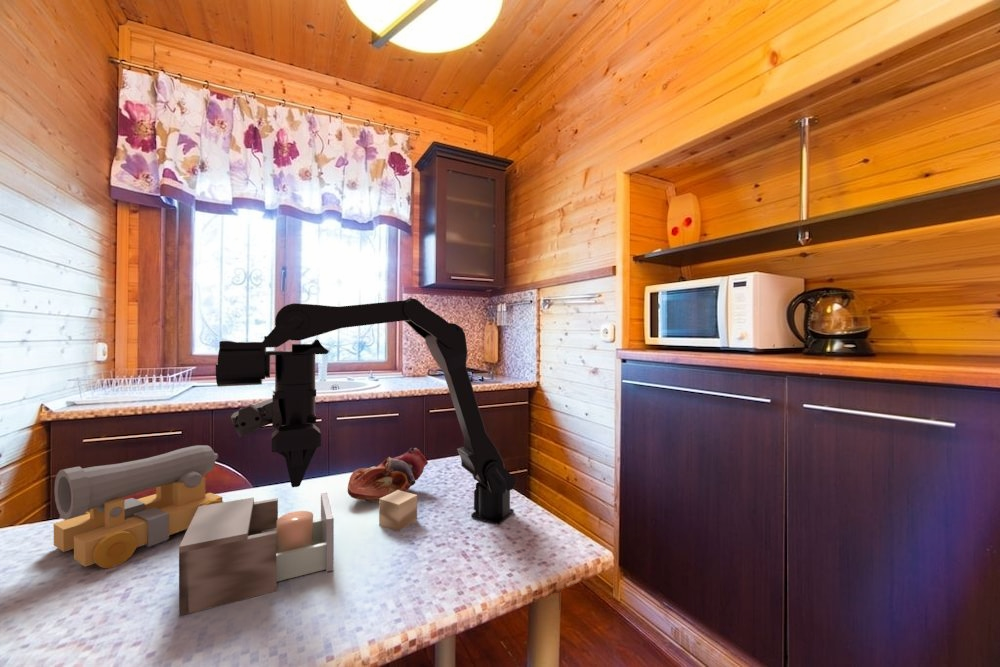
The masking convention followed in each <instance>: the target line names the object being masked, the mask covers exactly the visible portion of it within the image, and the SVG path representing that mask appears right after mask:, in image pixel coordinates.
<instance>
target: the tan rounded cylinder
mask: <svg viewBox="0 0 1000 667" xmlns="http://www.w3.org/2000/svg"><path fill="white" fill-rule="evenodd" d="M313 521H314V514H313V512H312V511H307V510H296V511H292V512H291V511H290V512H288V513H285V514H283V515H281V516H280V517H278V520H277V553H280V552H285V551H289V550H294V549H298V548H303V547H307V546H312V545H313Z"/></svg>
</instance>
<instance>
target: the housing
mask: <svg viewBox="0 0 1000 667" xmlns="http://www.w3.org/2000/svg"><path fill="white" fill-rule="evenodd" d="M278 498H279V497H275V498H270V499H264V500H259V501H255V497H248V498H243V499H237V500H236V499H235V500H229V501H225V502H224V501H223V503H217V504H210V505H204V506H199V507H198V509H197V511H196V513H195V515H194V517H193V519H192V521H191V523H190V525H189V527H188V528H187V529H186V531H185V533H184V536H183V538H182V540H181V541H180V543H179V546H178V616H179V617H181V616H185V615H189V614H192V613H197V612H200V611H204V610H207V609H208V610H209V609H212V608H216V607H220V606H224V605H227V604H230V603H234V602H235V603H236V602H239V601H243V600H247V599H250V598H253V597H258V596H262V595H265V594H270V593H273V592H277V582H276V530H275V531H270V532H265V533H261V531H263V530H268V529H273V528H277V520H278V518H279V517H278V516H279V511H278V510H279V501H278V500H279V499H278Z"/></svg>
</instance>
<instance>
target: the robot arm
mask: <svg viewBox="0 0 1000 667" xmlns="http://www.w3.org/2000/svg"><path fill="white" fill-rule="evenodd" d="M274 319H275V321H274V325H275V327H273V329H272V330H271V331H270V333H269V334H268V335H264V336H263V340H262V341H235V340H220V341H219V349H218V352H217V353H218V355H217V363H215V380H216V381H215V382H216V385H217V387H218V388H219V387H235V386H236V387H237V386H238V387H239V386H256V385H260V386H261V385H262V384H263V380H266V378H268V379H269V378H271V356H275V357H274V358H275V359H274V361H275V362H274V371H275V372H274V374H275V375H274V385H275V386H274V390H273V391H272V398H269V399H267V400H264V401H261V402H258V403H256V404H249V405H248V406H245V407H240V408H239V410H238V411H235V412H234V413H232V414H231V417H230V419H231V422H232V424H233V425H232V427H233V429H234V430H235V431H236V433H237V434H238V435H237V436H238V437H240V438H241V437H244V436H247V435H249V434H250V433H251V432H252V431H255V430H259V429H260V428H264V427H265V426H268V425H270V424H272V425H271V427H272V428H274V429H275V430H274V431H272V433H271V453H276V454H279V455H281V456H282V457H283V458H284V460H285V461H284V462H285V465H286V469H287V472H288V477H289V482H290V485H291V488H297V487H298V488H299V487H300V486H301V484H302V481H303V480H304V477H305V475H306V473H307V471H308V468H309V466H310V464H311V462H312V459H313V458H314V455H315V453H316V451H317V448H320V447H321V445H322V439H321V438H322V434H321V430H320V428H319V427H318V426H316V424H315V423H317V415H316V397H317V389H316V355H328V353H329V350H328V349H327V348H325V347H324V346H323V345H322V343H321V342H320V340H319V339H317V338H316V339H314V341H313V342H312V343H292V344H291V350H267V348H279V347H280V346H282V345H284V344H285V343H287V342H289V341H303V340H306V339H310V338H313V337H317V336H320V335H324V334H327V333H331V332H333V331H336V330H340V329H345V328H354V327H360V326H361V327H362V326H369V325H377V324H387V323H393V322H396V323H397V322H402V321H404V322H405V323H406V324H407V325H408V326H410V328H412V329H413V331H414V332H415V333H417V335H419V336H420V337H421V338H423V339H424V341H425V345H426V346H427V348H428V351H429V352H430V354H431V356H432V358H433V359H434V361H435V363H437V365H438V366H439V368H440V370H441V371H442V373H443V375H444V379H445V382H446V385H447V389H448V392H449V395H450V398H451V401H452V404H453V408H454V410H455V413H456V414H455V415H456V418H457V420H458V424H459V426H460V430H461V433H462V436H463V445H462V446H460V447H458V448H456V451H457V452H458V455H459V456H460V457H459V458H460V459H461V463H460V464H461V467H462V468H463V469H465V470H466V471H468V472H469V473H470V474H471V475H472V478H473V480H475V481H477V482H476V483H475V489H474V491H473V510H474V511H473V512H471V514H470V516H471V518H473V519H477V520H480V521H483V522H487V523H491V524H494V525H500V524H502V523H503V522H504V521H505V520H506V519H507V518H509V517H510V516H511V515H513V514H514V513H515V510H514V509H513V508H511V491H512V490H514V487H515V485H516V484H515V483H516V481H517V480H516V479H517V478H515V476H513V475H512V473H510V472H509V471H508V470H507V469H506V468H505V462H504V460H503V458H502V456H501V454H500V452H499V450H498V448H497V446H496V445H495V444H494V442H493V441H492V440H491V438H490V436H489V435H488V433H487V431H486V427H485V424H484V420H483V418H482V413H481V411H480V408H479V404H478V400H477V397H476V395H475V391H474V387H473V385H472V382H471V379H470V374H469V373H468V368H467V361H468V360H467V359H468V345H467V337H466V333H465V331H464V329H463V328H462V326H460V325H458V324H456V323H453V322H448V321H447V320H446V319H445V318H443V317H442V316H440V315H439V314H437V313H436V312H434V311H433V310H431V309H430V308H428V307H427V306H425V305H424V304H423V303H422V302H421V301H420V300H418V299H416V298H405V299H404V300H394V301H384V302H376V303H374V302H373V303H365V304H364V303H363V304H362V303H361V304H353V305H341V306H336V305H335V306H333V305H332V306H331V305H323V304H322V305H321V304H312V303H310V304H309V303H308V304H307V303H299V302H298V303H290V304H286V305H284V306H283V307H282V308H280V309H279V311H278V312H277V314H276V315H275V318H274Z"/></svg>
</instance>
